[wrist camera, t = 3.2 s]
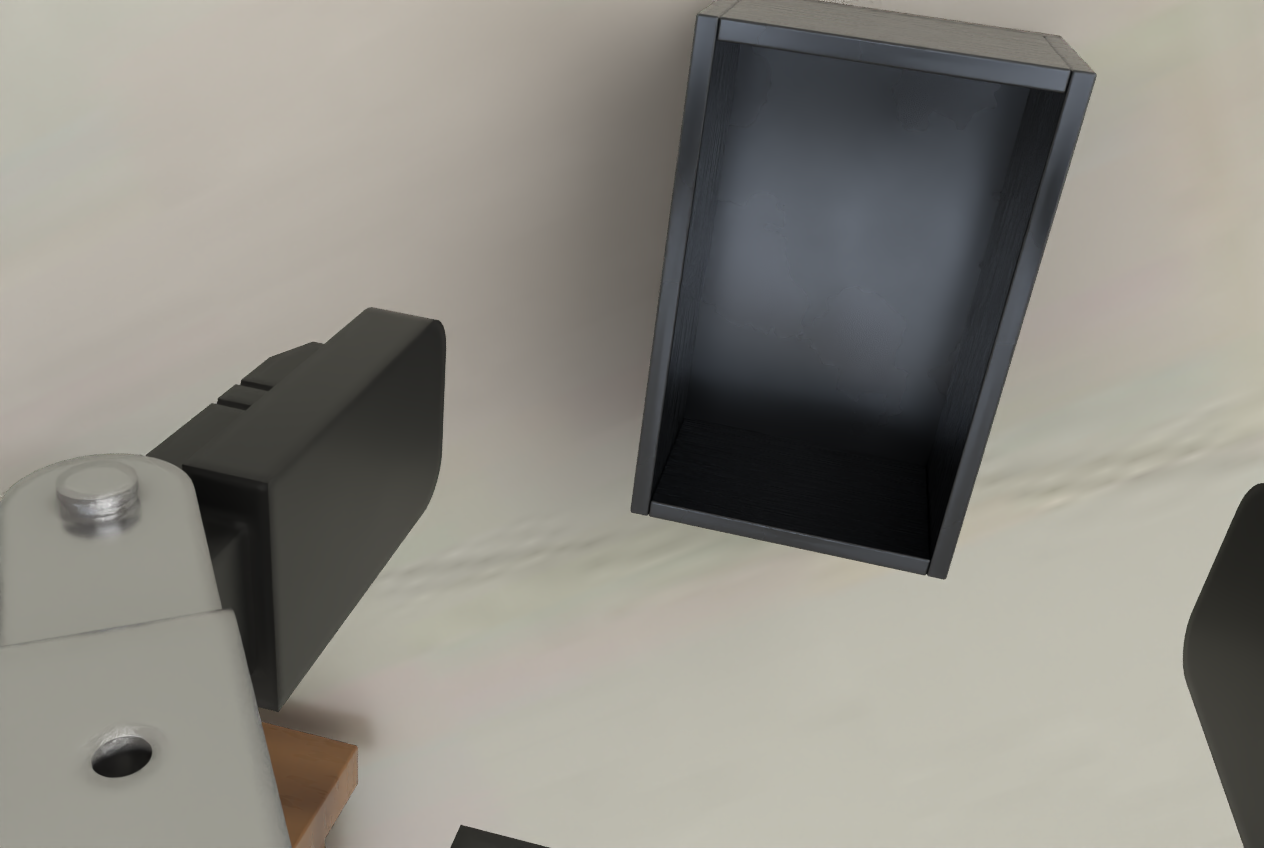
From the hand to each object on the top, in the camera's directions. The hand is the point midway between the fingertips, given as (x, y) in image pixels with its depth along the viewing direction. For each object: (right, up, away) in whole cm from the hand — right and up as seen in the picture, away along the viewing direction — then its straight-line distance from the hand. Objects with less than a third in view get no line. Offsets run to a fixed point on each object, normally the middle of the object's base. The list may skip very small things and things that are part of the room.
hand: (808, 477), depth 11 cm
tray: (+2, +3, +7) cm, 8 cm away
